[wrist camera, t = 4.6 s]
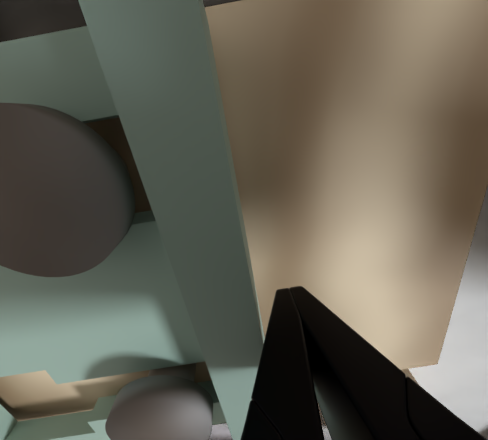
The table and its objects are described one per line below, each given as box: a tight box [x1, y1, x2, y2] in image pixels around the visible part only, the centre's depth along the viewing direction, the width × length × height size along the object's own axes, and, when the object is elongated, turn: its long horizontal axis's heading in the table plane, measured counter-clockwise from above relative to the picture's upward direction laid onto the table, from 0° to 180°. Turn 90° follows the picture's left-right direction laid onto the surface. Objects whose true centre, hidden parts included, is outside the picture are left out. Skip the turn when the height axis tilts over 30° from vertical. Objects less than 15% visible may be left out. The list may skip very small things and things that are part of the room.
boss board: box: [0, 0, 488, 440], centre depth 9 cm, size 26×16×4 cm, turn 99°
